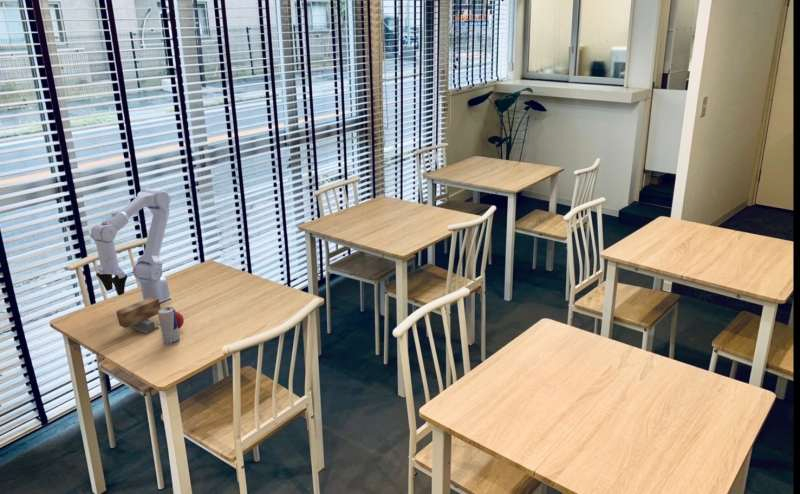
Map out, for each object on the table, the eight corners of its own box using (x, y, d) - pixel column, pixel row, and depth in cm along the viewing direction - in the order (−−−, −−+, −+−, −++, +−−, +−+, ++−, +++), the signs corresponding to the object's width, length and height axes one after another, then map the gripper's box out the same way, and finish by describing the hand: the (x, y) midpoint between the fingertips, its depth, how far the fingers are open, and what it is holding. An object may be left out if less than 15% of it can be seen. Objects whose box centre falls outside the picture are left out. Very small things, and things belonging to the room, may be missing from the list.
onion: (181, 334, 219) (178, 313, 216) (165, 334, 219) (161, 313, 217) (187, 326, 225) (183, 306, 222) (171, 326, 225) (167, 306, 222)
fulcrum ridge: (139, 320, 231) (137, 312, 230) (158, 328, 224) (157, 320, 223) (126, 325, 227) (125, 317, 226) (146, 334, 220) (144, 325, 219)
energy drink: (182, 338, 216) (177, 306, 212) (176, 346, 211) (170, 313, 207) (167, 338, 217) (161, 306, 213) (160, 345, 212) (154, 313, 208)
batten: (154, 310, 231) (152, 296, 229) (161, 312, 229) (158, 299, 227) (119, 325, 220) (116, 311, 219) (125, 328, 218) (122, 313, 216)
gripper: (86, 257, 226) (94, 291, 231) (108, 264, 218) (116, 300, 223) (104, 251, 232) (112, 285, 236) (127, 258, 223) (134, 293, 228)
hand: (115, 292), depth 230 cm, fingers open, 7 cm apart
